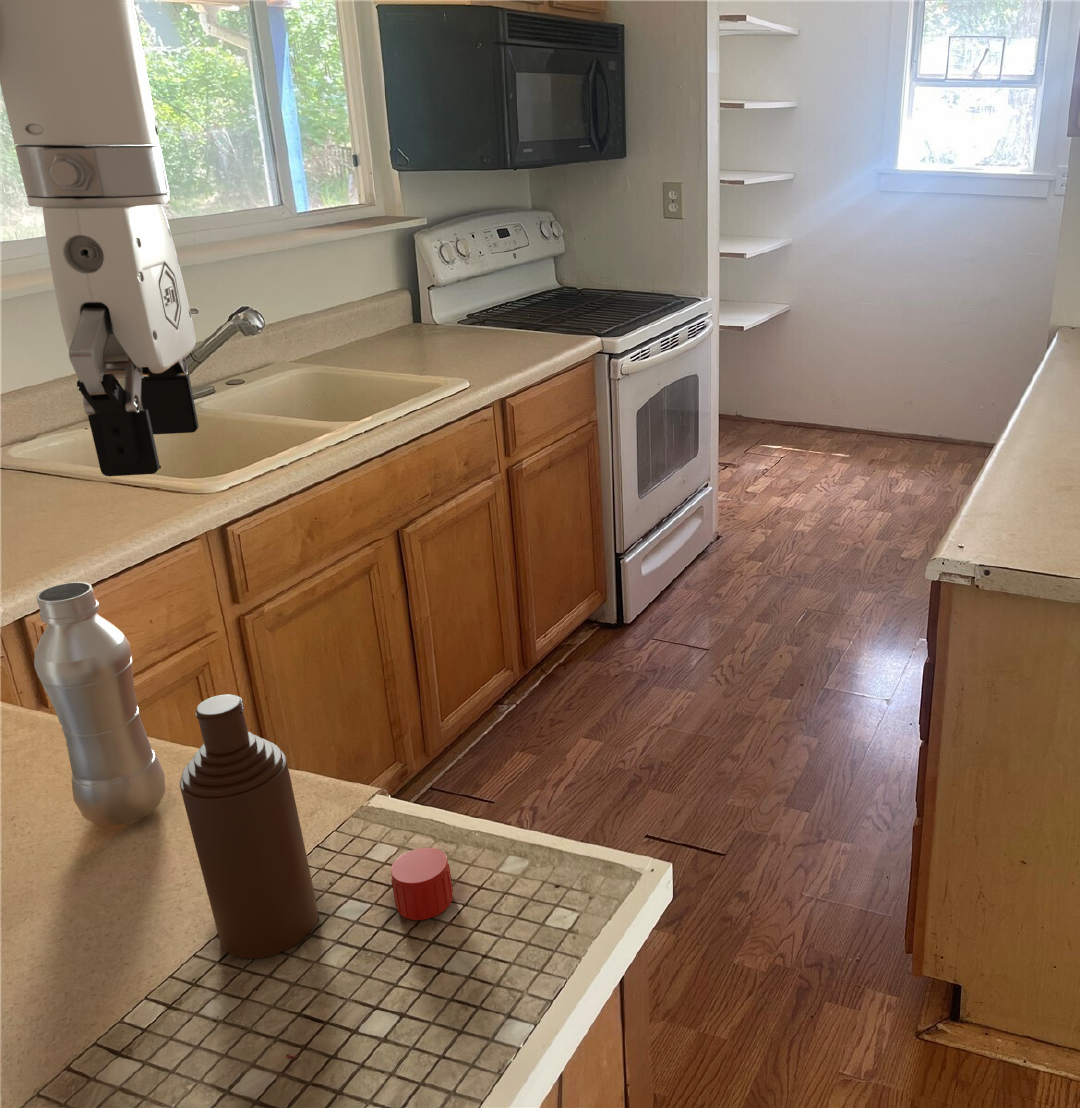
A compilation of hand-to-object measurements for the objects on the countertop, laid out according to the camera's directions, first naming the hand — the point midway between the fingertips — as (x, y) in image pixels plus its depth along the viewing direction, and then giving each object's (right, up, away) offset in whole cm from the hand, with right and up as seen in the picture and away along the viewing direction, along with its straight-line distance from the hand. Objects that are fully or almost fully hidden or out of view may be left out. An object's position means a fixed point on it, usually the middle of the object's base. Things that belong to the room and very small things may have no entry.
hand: (154, 451), depth 69 cm
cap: (+16, -32, +6) cm, 36 cm away
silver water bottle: (-11, -28, +16) cm, 35 cm away
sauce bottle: (+6, -33, +4) cm, 34 cm away
